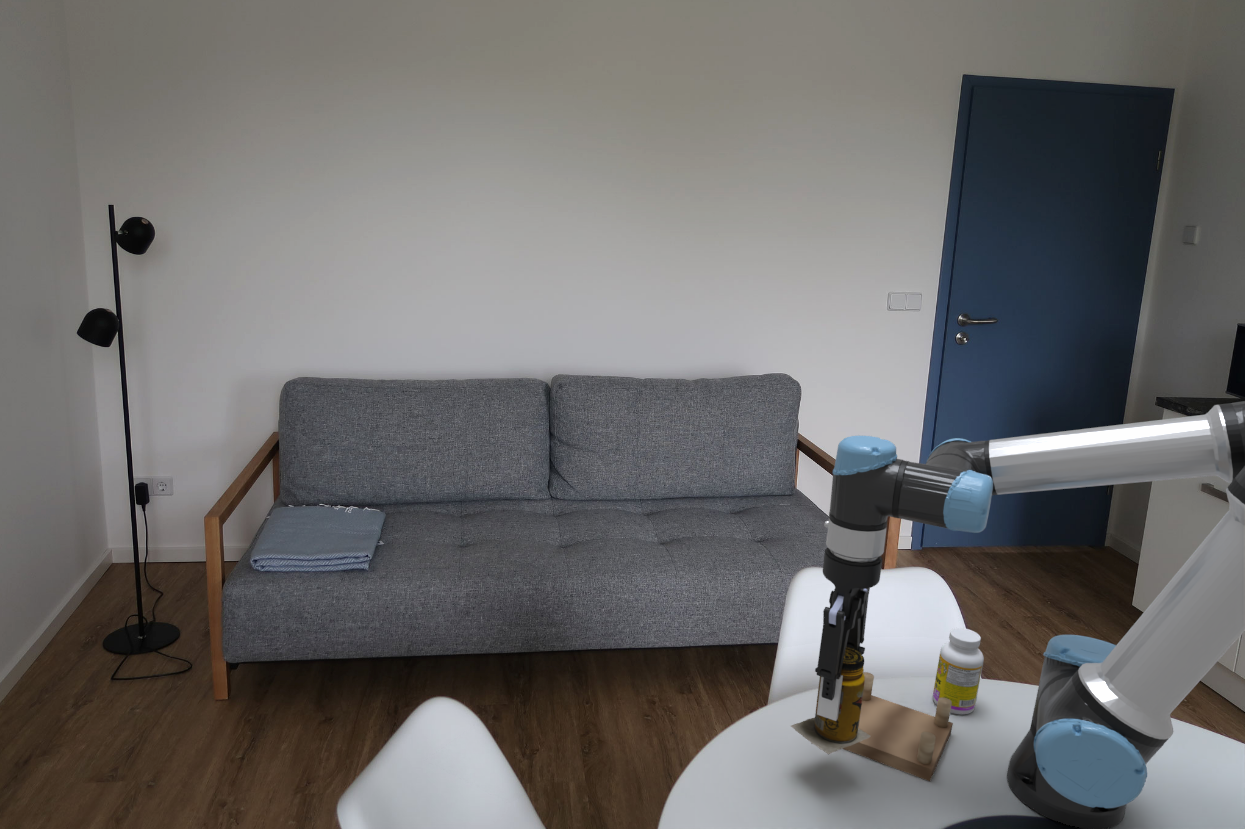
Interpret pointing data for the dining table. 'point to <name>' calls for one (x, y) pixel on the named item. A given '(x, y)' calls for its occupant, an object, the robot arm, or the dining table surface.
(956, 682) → the supplement bottle
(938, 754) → the peg holder
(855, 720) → the condiment
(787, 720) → the dining table surface
